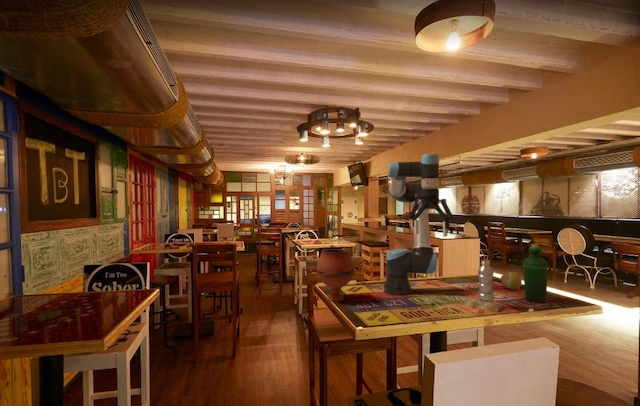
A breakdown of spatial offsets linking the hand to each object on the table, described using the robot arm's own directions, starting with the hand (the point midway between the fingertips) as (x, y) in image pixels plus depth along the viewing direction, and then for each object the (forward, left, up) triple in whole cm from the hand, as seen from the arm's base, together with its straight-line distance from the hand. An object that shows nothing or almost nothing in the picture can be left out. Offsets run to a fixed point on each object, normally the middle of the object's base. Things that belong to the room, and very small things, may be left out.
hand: (430, 235), depth 142 cm
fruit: (+14, +68, -34) cm, 78 cm away
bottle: (+29, +52, -34) cm, 69 cm away
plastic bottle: (+16, +24, -33) cm, 43 cm away
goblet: (-43, -17, -34) cm, 58 cm away
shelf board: (+13, +24, -34) cm, 44 cm away
